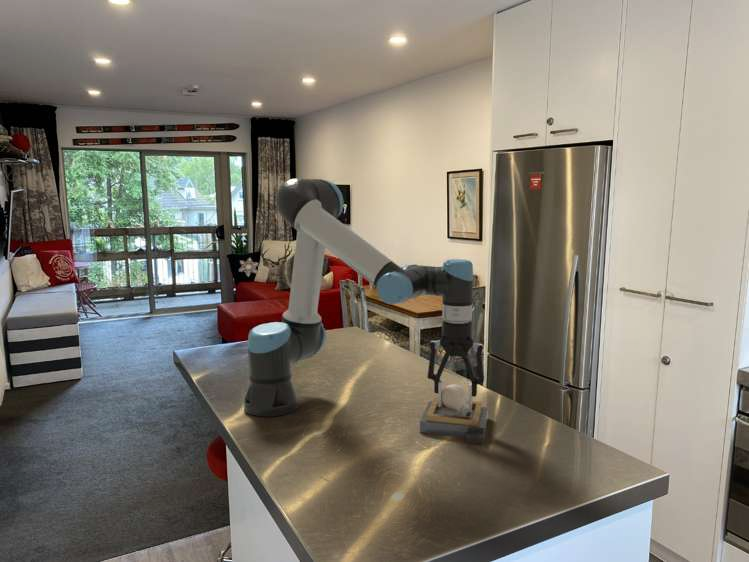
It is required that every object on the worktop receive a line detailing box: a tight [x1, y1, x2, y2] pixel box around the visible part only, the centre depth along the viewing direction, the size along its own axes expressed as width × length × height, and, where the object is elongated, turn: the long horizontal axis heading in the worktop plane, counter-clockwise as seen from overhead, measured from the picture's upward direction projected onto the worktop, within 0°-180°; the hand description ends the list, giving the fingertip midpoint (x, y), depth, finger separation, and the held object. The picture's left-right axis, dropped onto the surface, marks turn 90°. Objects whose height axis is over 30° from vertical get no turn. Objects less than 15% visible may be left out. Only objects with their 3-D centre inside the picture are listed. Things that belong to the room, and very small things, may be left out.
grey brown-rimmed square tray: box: [419, 397, 489, 445], centre depth 145 cm, size 16×21×4 cm
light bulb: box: [441, 383, 472, 417], centre depth 142 cm, size 7×7×11 cm
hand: (455, 406), depth 144 cm, fingers closed on light bulb, 7 cm apart
